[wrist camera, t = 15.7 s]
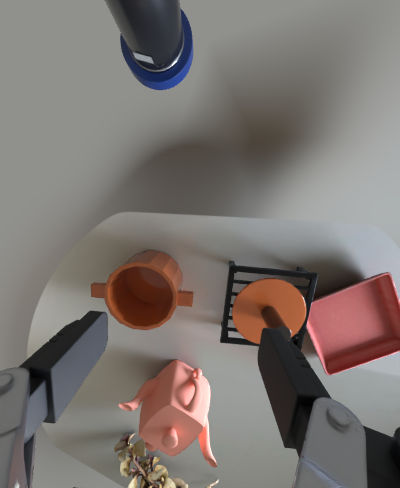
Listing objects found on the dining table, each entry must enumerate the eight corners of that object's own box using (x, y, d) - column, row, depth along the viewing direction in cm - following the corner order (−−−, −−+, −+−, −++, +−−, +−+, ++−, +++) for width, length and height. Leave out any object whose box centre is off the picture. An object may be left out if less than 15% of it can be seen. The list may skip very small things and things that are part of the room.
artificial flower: (202, 482, 58) (107, 449, 53) (229, 457, 53) (128, 419, 49) (202, 539, 48) (87, 505, 44) (234, 514, 44) (111, 475, 40)
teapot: (214, 404, 48) (217, 474, 36) (147, 406, 49) (128, 475, 36) (211, 351, 45) (213, 407, 33) (139, 354, 46) (115, 410, 33)
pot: (111, 246, 40) (87, 257, 32) (197, 254, 40) (195, 267, 32) (112, 301, 43) (89, 324, 35) (192, 309, 43) (189, 334, 35)
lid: (236, 273, 36) (243, 290, 29) (309, 280, 36) (335, 299, 29) (227, 337, 38) (232, 367, 31) (295, 344, 38) (315, 375, 31)
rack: (227, 258, 40) (229, 265, 35) (304, 265, 40) (318, 273, 35) (218, 327, 44) (220, 342, 39) (290, 333, 43) (301, 350, 39)
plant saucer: (319, 365, 45) (327, 378, 42) (290, 300, 42) (298, 308, 39) (398, 336, 43) (414, 347, 40) (375, 265, 40) (390, 270, 36)
